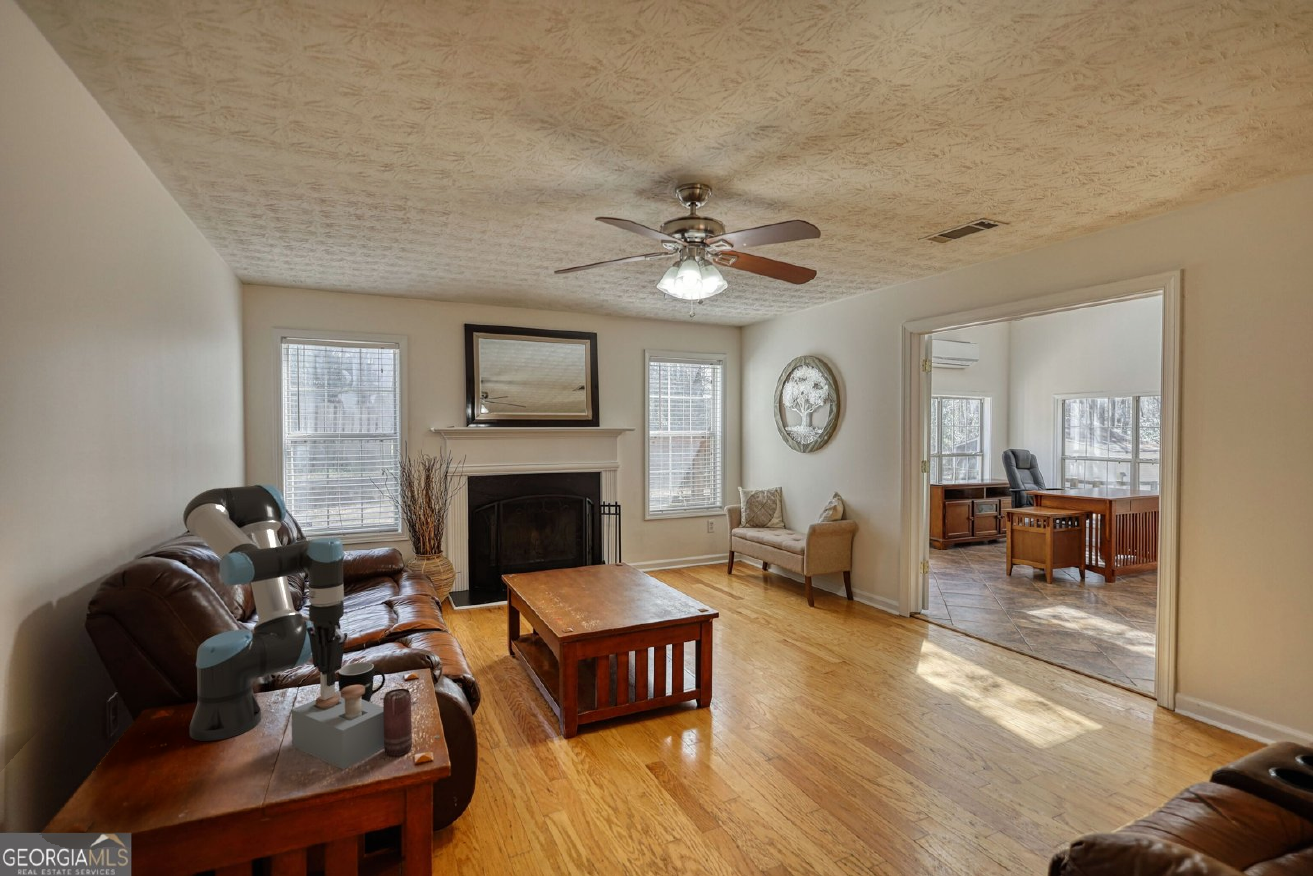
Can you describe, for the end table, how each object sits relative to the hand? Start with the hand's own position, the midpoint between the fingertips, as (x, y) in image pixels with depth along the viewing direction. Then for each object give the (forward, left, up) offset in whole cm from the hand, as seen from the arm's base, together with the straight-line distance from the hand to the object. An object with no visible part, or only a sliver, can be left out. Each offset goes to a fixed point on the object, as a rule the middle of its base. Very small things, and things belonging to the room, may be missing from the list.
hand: (327, 697), depth 153 cm
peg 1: (0, 0, -10) cm, 10 cm away
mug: (-11, +17, -11) cm, 23 cm away
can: (+19, +6, -11) cm, 23 cm away
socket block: (+5, 0, -11) cm, 12 cm away
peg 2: (+10, 0, -6) cm, 11 cm away
